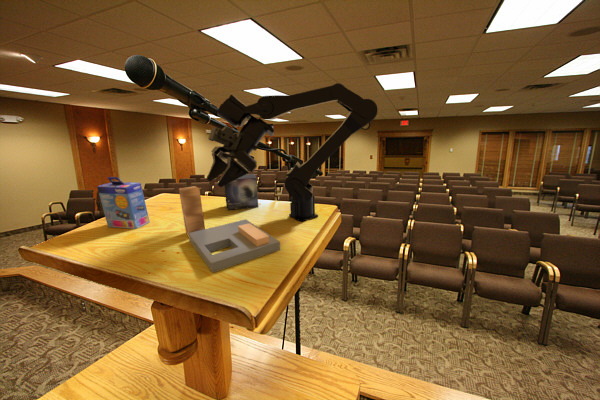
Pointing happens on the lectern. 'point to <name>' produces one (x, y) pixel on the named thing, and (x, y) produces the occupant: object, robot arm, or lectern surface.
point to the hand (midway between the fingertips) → (213, 183)
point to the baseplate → (232, 244)
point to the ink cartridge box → (123, 204)
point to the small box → (242, 193)
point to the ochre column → (192, 209)
